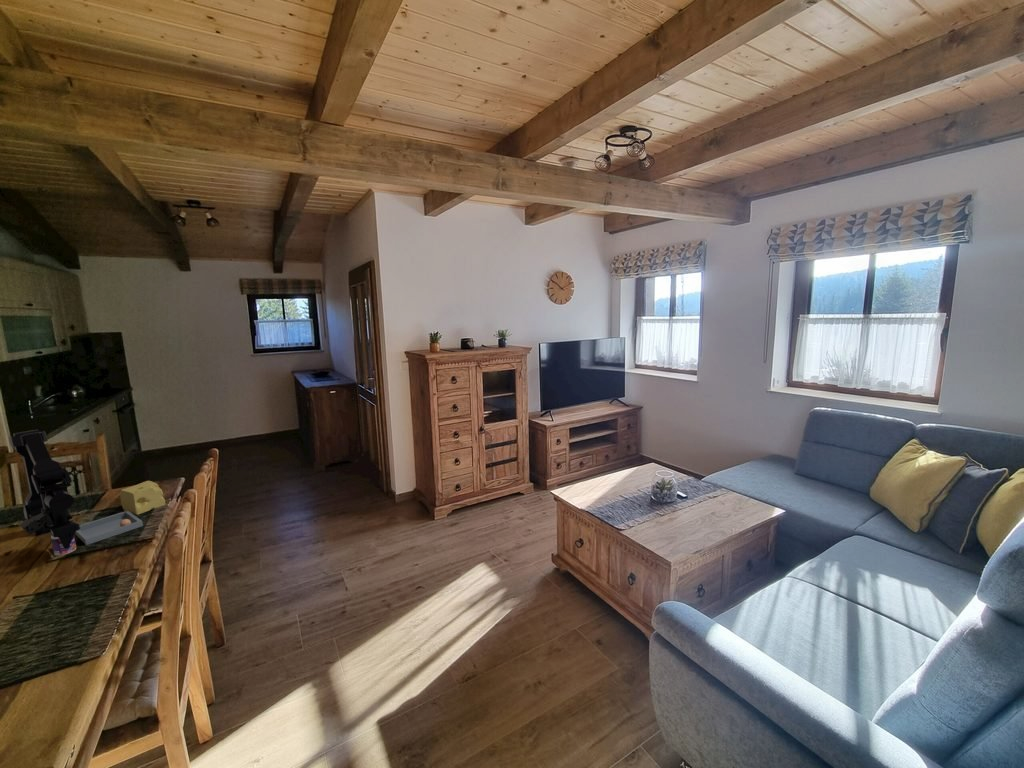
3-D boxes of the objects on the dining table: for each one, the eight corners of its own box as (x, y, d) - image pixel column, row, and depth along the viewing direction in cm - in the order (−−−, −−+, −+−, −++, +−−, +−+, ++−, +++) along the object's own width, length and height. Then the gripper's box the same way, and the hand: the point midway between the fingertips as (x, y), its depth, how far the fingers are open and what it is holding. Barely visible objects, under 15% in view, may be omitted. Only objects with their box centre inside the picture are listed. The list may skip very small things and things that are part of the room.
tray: (73, 534, 161) (72, 527, 161) (128, 516, 174) (127, 510, 174) (86, 546, 152) (85, 539, 152) (143, 527, 165) (142, 520, 165)
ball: (119, 528, 164) (117, 520, 163) (129, 524, 166) (128, 516, 166) (122, 530, 162) (120, 522, 161) (132, 526, 165) (131, 518, 164)
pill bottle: (62, 557, 146) (56, 531, 144) (50, 556, 147) (44, 529, 145) (81, 549, 151) (75, 523, 149) (69, 547, 152) (63, 521, 150)
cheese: (166, 505, 183) (162, 483, 182) (135, 517, 174) (131, 493, 172) (152, 501, 188) (148, 479, 186) (122, 512, 178) (117, 489, 176)
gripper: (13, 506, 144) (23, 548, 147) (26, 520, 134) (36, 566, 137) (60, 493, 153) (69, 534, 156) (75, 506, 143) (84, 549, 146)
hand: (64, 545), depth 148 cm, fingers closed on pill bottle, 5 cm apart
